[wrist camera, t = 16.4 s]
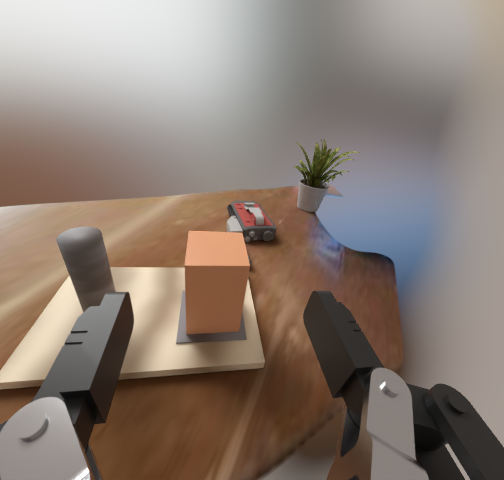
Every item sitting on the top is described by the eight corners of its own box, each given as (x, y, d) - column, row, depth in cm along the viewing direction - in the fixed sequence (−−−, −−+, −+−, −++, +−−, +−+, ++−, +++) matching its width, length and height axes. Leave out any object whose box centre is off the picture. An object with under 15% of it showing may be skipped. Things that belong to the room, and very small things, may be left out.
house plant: (352, 220, 56) (382, 149, 48) (307, 226, 50) (331, 146, 41) (315, 196, 67) (333, 134, 58) (273, 199, 61) (287, 130, 52)
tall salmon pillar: (186, 334, 24) (184, 265, 19) (189, 294, 28) (189, 230, 23) (238, 331, 25) (250, 265, 20) (234, 293, 29) (242, 232, 24)
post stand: (-3, 389, 19) (-93, 291, 13) (77, 273, 30) (49, 192, 24) (263, 367, 23) (287, 286, 17) (245, 273, 35) (256, 205, 29)
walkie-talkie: (218, 211, 51) (240, 271, 36) (219, 192, 49) (244, 247, 33) (255, 211, 54) (292, 267, 38) (258, 193, 52) (299, 244, 36)
